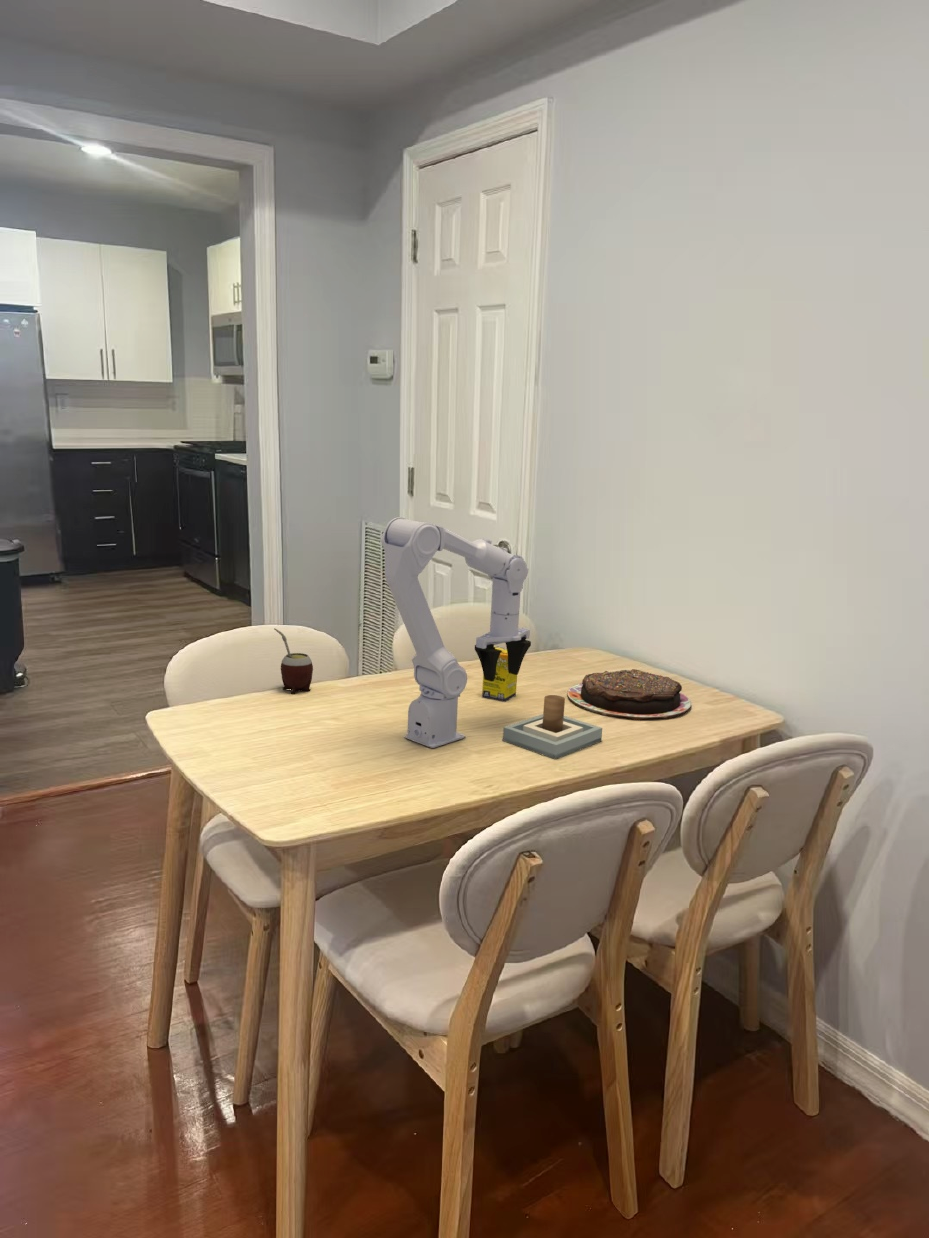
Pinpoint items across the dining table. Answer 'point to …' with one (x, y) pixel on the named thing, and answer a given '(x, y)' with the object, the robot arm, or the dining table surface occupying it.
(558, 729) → the walnut peg
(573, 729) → the socket block
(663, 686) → the chocolate cake
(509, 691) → the supplement box
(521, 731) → the tray
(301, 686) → the mate gourd
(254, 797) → the dining table surface
